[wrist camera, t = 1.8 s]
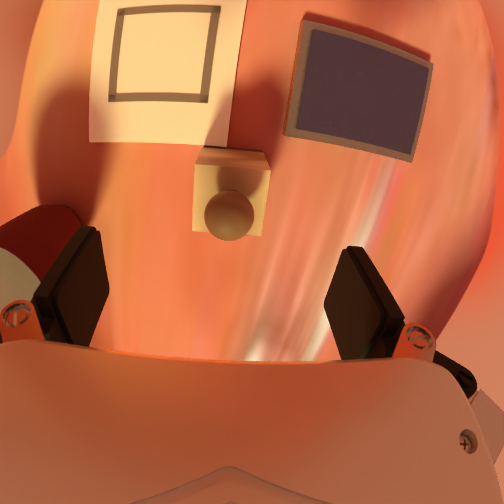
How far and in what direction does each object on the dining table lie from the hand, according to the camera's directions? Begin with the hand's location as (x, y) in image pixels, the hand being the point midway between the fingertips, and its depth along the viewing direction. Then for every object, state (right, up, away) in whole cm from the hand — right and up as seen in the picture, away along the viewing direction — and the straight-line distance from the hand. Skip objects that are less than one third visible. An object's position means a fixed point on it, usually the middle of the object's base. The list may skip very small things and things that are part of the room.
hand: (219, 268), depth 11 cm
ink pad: (+10, +13, +8) cm, 18 cm away
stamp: (0, +7, +12) cm, 13 cm away
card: (-5, +15, +6) cm, 17 cm away
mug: (-16, +2, +13) cm, 21 cm away
